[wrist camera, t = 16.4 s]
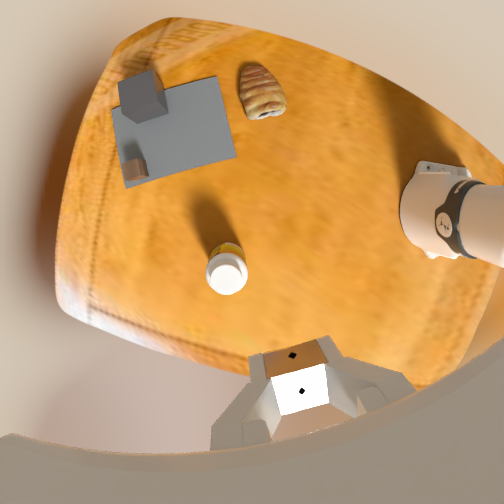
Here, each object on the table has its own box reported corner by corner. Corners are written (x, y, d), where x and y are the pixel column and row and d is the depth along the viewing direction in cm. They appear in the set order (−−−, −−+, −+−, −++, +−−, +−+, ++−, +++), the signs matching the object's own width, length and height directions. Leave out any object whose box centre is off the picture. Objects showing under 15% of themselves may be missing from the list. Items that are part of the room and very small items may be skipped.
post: (145, 160, 39) (137, 158, 35) (149, 176, 39) (140, 175, 36) (130, 165, 39) (121, 163, 35) (134, 181, 39) (124, 180, 36)
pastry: (230, 74, 37) (230, 64, 33) (270, 64, 37) (273, 55, 33) (248, 124, 39) (249, 118, 36) (289, 114, 39) (294, 107, 36)
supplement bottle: (219, 235, 43) (215, 249, 33) (251, 251, 44) (257, 270, 34) (204, 266, 44) (196, 289, 34) (235, 281, 45) (236, 308, 35)
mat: (217, 77, 37) (216, 76, 37) (236, 157, 40) (236, 157, 40) (112, 110, 37) (111, 109, 36) (126, 188, 40) (125, 188, 40)
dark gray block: (163, 85, 35) (152, 69, 29) (168, 113, 37) (158, 100, 30) (132, 95, 35) (117, 82, 29) (137, 124, 36) (121, 113, 30)
